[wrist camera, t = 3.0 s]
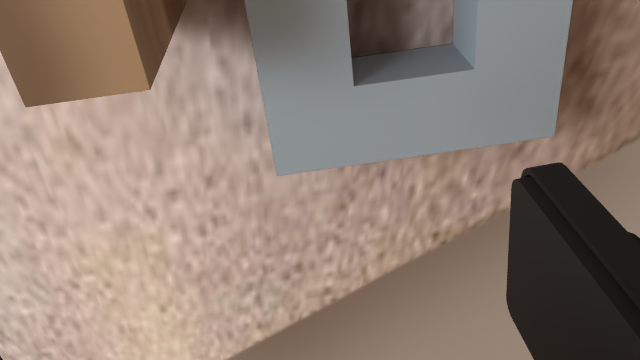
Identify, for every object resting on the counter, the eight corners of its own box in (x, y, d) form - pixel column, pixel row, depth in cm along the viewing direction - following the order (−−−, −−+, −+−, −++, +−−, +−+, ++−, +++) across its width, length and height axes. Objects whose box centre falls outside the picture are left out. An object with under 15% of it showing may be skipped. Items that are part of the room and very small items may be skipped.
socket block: (557, -198, 23) (600, -201, 20) (526, 106, 31) (554, 136, 28) (222, -153, 23) (216, -149, 20) (275, 141, 31) (276, 176, 28)
